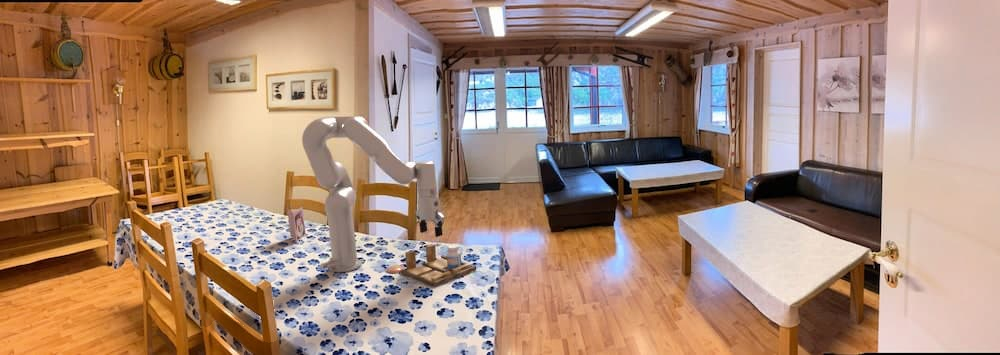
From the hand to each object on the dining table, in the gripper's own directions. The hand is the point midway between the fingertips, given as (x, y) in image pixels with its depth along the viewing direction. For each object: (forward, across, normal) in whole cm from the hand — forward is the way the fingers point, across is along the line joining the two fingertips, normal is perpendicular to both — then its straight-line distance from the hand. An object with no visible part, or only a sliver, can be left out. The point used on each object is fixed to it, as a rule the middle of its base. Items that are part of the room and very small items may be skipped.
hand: (431, 233), depth 198 cm
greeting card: (+10, +77, +23) cm, 81 cm away
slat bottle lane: (+12, -8, +1) cm, 15 cm away
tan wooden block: (+12, -3, +11) cm, 16 cm away
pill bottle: (+12, -14, +1) cm, 18 cm away
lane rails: (+12, -10, +6) cm, 16 cm away
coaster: (+12, +5, +15) cm, 20 cm away
